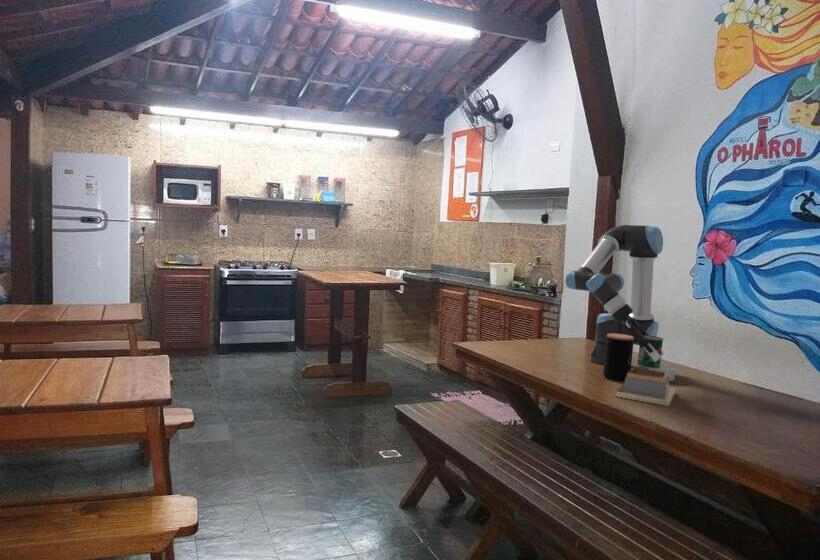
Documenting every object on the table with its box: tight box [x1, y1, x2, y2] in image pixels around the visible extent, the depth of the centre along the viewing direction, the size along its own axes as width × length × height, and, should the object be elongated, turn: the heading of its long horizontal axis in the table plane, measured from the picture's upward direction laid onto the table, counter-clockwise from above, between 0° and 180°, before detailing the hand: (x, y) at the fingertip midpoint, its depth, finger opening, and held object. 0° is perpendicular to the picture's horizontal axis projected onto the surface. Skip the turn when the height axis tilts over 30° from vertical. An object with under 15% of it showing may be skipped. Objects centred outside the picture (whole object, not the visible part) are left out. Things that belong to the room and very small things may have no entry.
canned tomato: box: [636, 335, 664, 369], centre depth 224 cm, size 8×8×11 cm
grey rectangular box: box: [615, 367, 676, 407], centre depth 225 cm, size 22×18×8 cm
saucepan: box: [631, 363, 677, 382], centre depth 253 cm, size 12×20×6 cm, turn 102°
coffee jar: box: [602, 333, 634, 382], centre depth 249 cm, size 11×11×18 cm
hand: (659, 357), depth 222 cm, fingers closed on canned tomato, 8 cm apart
